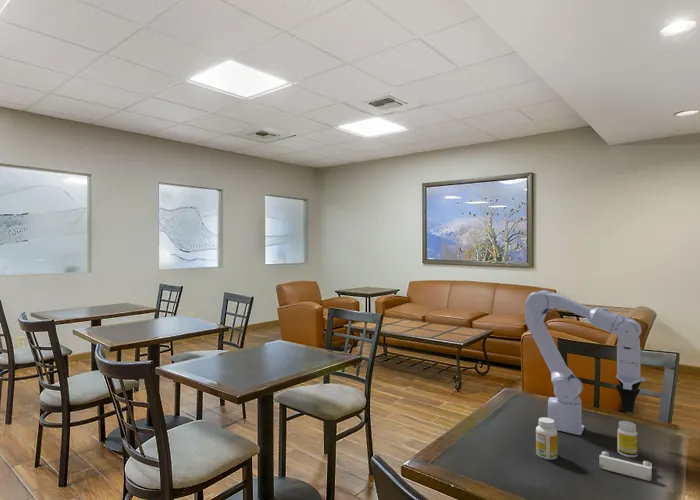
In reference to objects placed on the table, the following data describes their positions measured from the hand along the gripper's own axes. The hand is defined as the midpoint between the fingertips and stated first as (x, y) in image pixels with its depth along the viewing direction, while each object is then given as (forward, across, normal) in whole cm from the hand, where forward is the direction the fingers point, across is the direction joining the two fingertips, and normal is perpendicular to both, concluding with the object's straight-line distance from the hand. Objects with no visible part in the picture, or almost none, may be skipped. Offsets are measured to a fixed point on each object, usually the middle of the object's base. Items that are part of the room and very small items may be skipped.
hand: (628, 407), depth 124 cm
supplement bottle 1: (+11, -22, +18) cm, 30 cm away
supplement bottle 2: (+11, -8, 0) cm, 13 cm away
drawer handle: (+10, -16, 0) cm, 20 cm away
